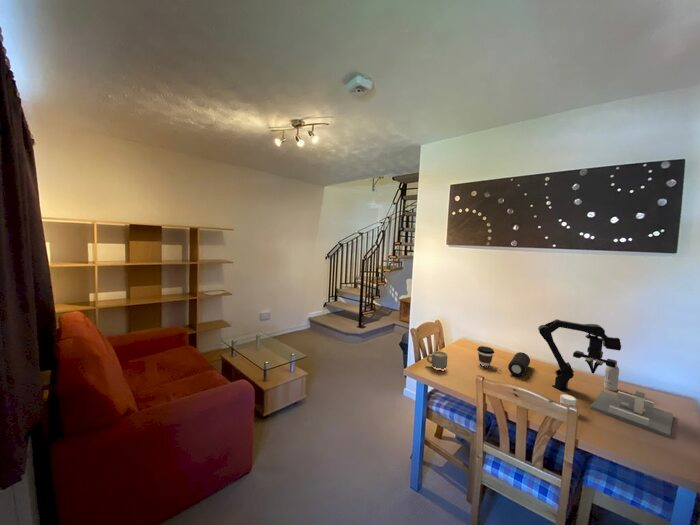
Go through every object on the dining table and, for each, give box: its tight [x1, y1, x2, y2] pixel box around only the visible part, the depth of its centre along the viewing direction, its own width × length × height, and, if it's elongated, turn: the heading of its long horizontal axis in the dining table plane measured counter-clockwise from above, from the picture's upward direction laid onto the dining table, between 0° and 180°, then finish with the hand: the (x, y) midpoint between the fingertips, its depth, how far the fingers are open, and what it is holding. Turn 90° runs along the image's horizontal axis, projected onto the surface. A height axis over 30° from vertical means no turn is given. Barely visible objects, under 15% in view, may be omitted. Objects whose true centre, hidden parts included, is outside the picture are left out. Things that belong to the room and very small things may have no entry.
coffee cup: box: [477, 345, 495, 367], centre depth 202 cm, size 11×11×12 cm
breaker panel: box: [590, 390, 674, 439], centre depth 149 cm, size 28×27×4 cm
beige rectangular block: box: [634, 390, 646, 414], centre depth 146 cm, size 3×5×9 cm, turn 129°
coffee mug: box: [426, 350, 448, 369], centre depth 196 cm, size 13×10×10 cm
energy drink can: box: [603, 364, 620, 392], centre depth 173 cm, size 6×6×15 cm
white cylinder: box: [559, 393, 577, 407], centre depth 149 cm, size 7×7×7 cm
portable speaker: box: [507, 351, 531, 377], centre depth 195 cm, size 26×10×10 cm, turn 140°
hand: (592, 373), depth 165 cm, fingers closed
